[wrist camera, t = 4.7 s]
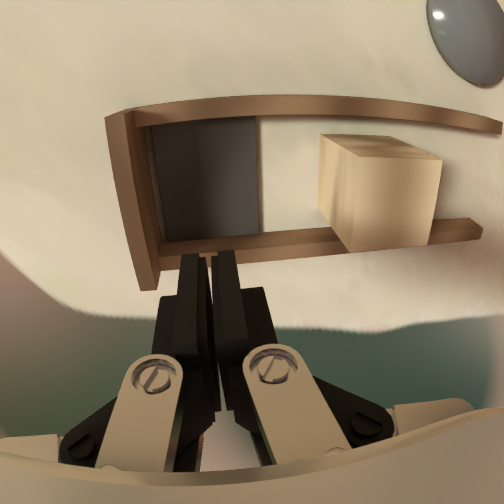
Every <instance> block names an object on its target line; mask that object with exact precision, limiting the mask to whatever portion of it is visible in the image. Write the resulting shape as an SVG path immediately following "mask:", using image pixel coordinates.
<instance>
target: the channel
mask: <svg viewBox="0 0 504 504" xmlns="http://www.w3.org/2000/svg"><path fill="white" fill-rule="evenodd" d="M280 114H326V115H354V116H371V117H385V118H396V119H406V120H415V121H424V122H432V123H439V124H446V125H452V126H459V127H465V128H470V129H476V130H481V131H486V132H491V133H496V134H500V135H501V134H502V125H503V122H500V121H497V120H494V119H491V118H488V117H485V116H480V115H476V114H472V113H467V112H462V111H457V110H452V109H447V108H441V107H436V106H430V105H423V104H417V103H409V102H402V101H394V100H385V99H375V98H363V97H350V96H332V95H249V96H230V97H217V98H205V99H195V100H185V101H177V102H169V103H162V104H155V105H148V106H142V107H136V108H130V109H125V110H123V111H120V112H117V113H115V114H112V115H109V116H107V117H104V118H105V125H106V132H107V139H108V146H109V152H110V158H111V164H112V170H113V176H114V181H115V186H116V191H117V196H118V201H119V206H120V211H121V215H122V220H123V224H124V229H125V233H126V237H127V241H128V246H129V250H130V254H131V257H132V261H133V265H134V269H135V273H136V276H137V280H138V284H139V287H140V291H150V290H157V287H158V282H159V277H160V272H161V271H166V270H177V269H180V263H181V256H182V254H191V253H199V256H200V257H206V261H207V267H211V256H217V255H218V254H217V251H222V250H233V249H234V251H235V257H236V264H244V263H254V262H265V261H275V260H286V259H296V258H306V257H316V256H327V255H337V254H346V253H349V251H348V250H347V248H346V247H345V245H344V244H343V243H342V241H341V240H340V238H339V237H338V236H337V234H336V233H335V231H334V230H333V229H332V227H327V228H314V229H301V230H289V231H277V232H265V233H259V215H258V185H257V156H256V129H255V115H280ZM150 125H151V128H152V137H153V145H154V153H155V161H156V168H157V175H158V182H159V189H160V195H161V202H162V208H163V214H164V220H165V226H166V232H167V237H168V241H166V242H162V240H161V234H160V229H159V224H158V218H157V212H156V206H155V201H154V194H153V188H152V182H151V175H150V168H149V161H148V154H147V147H146V139H145V131H144V126H150ZM482 231H483V228H482V227H480V226H479V225H478V224H477V223H475V222H474V221H473V220H471V219H470V218H461V219H444V220H432V225H431V229H430V234H429V238H428V243H427V245H432V244H441V243H451V242H460V241H468V240H477V239H480V238H481V234H482ZM394 249H395V248H394ZM375 251H376V250H375ZM365 252H366V251H365ZM355 253H356V252H355Z"/></svg>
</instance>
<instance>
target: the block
mask: <svg viewBox="0 0 504 504" xmlns="http://www.w3.org/2000/svg"><path fill="white" fill-rule="evenodd" d="M442 162H443V160H441V159H439V158H437V157H435V156H432V155H430V154H428V153H426V152H424V151H422V150H420V149H418V148H415V147H413V146H411V145H409V144H406V143H404V142H402V141H399V140H397V139H395V138H392V137H390V136H376V135H349V134H320V145H319V178H318V201H317V208H318V210H319V211H320V212H321V214H322V215H323V216H324V218H325V219H326V220H327V222H328V223H329V225H330V226H331V227H332V229H333V230H334V231H335V233H336V234H337V236H338V237H339V238H340V240H341V241H342V243H343V244H344V245H345V247H346V248H347V250H348V251H349V253H355V252H365V251H375V250H385V249H394V248H404V247H414V246H423V245H427V243H428V238H429V234H430V229H431V225H432V220H433V215H434V210H435V205H436V200H437V194H438V188H439V182H440V176H441V169H442Z"/></svg>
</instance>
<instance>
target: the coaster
mask: <svg viewBox="0 0 504 504" xmlns="http://www.w3.org/2000/svg"><path fill="white" fill-rule="evenodd" d="M426 13H427V21H428V25H429V29H430V33H431V36H432V38H433V41H434V43H435V45H436V47H437V49H438V51H439V53H440V54H441V56H442V58H443V59H444V61H445V62H446V63H447V64H448V66H449V67H450V68H451V69H452V70H453V71H454V72H455V73H456V74H457V75H459V76H460V77H461V78H463V79H465V80H467V81H469V82H472V83H477V84H482V85H490V84H494V83H496V82H498V81H499V80H501V79H502V78H503V77H504V12H503V10H502V9H501V7H500V5H499V4H498V2H497V0H427V5H426Z"/></svg>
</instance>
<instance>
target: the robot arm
mask: <svg viewBox="0 0 504 504" xmlns="http://www.w3.org/2000/svg"><path fill="white" fill-rule="evenodd" d="M217 254H218V255H217V256H211V272H212V297H211V290H210V283H209V276H208V268H207V261H206V257H200V256H199V253H191V254H182V256H181V263H180V272H179V280H178V289H177V295H172V296H162V297H161V298H160V302H159V308H158V314H157V320H156V326H155V333H154V340H153V346H152V353H151V355H148V356H145V357H142V358H140V359H139V360H137V361H135V362H134V363H133V364H132V365H131V366H130V368H129V369H128V371H127V373H126V375H125V378H124V381H123V383H122V386H121V389H120V392H119V394H118V396H117V397H116V398H114V399H113V400H112V401H110V402H109V403H107V404H106V405H105V406H103V407H102V408H101V409H99V410H98V411H96V412H95V413H94V414H92V415H91V416H89V417H88V418H87V419H85V420H84V421H83V422H81V423H80V424H78V425H77V426H75V427H74V428H73V429H71V430H70V431H69V432H68V433H67V434H66V435H65V436H64V437H60V436H59V435H58V434H51V435H40V436H27V437H7V438H4V439H1V440H0V504H504V408H489V409H481V410H475V411H474V409H473V407H472V406H471V405H470V404H469V403H468V402H467V401H464V400H462V399H457V398H455V399H454V398H452V399H445V400H438V401H430V402H421V403H412V404H402V405H394V406H393V408H392V409H384V408H383V407H381V406H379V405H377V404H375V403H373V402H370V401H368V400H366V399H363V398H361V397H359V396H356V395H354V394H352V393H350V392H347V391H345V390H343V389H341V388H338V387H336V386H334V385H331V384H330V383H327V382H325V381H323V380H321V379H319V378H317V377H315V376H312V375H311V373H310V371H309V370H308V368H307V366H306V364H305V362H304V361H303V359H302V357H301V356H300V355H299V353H298V352H297V351H295V350H293V349H292V348H290V347H288V346H285V345H281V344H278V342H277V338H276V334H275V330H274V326H273V323H272V319H271V315H270V311H269V307H268V304H267V300H266V296H265V292H264V289H263V287H255V288H246V289H240V282H239V276H238V270H237V264H236V257H235V251H234V249H233V250H222V251H217ZM212 299H213V304H212ZM218 365H219V370H220V375H221V381H222V386H223V391H224V397H225V402H226V407H227V411H230V410H234V416H235V422H236V423H237V424H239V425H240V426H242V427H244V428H245V429H247V430H248V431H249V433H250V437H251V440H252V443H253V446H254V449H255V452H256V454H257V457H258V460H259V463H260V466H261V467H255V468H246V469H237V470H225V471H209V472H200V465H201V457H202V450H203V442H204V434H203V433H204V432H205V431H206V430H207V429H208V428H209V427H210V426H211V425H212V422H215V412H218V411H221V398H220V385H219V371H218Z"/></svg>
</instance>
